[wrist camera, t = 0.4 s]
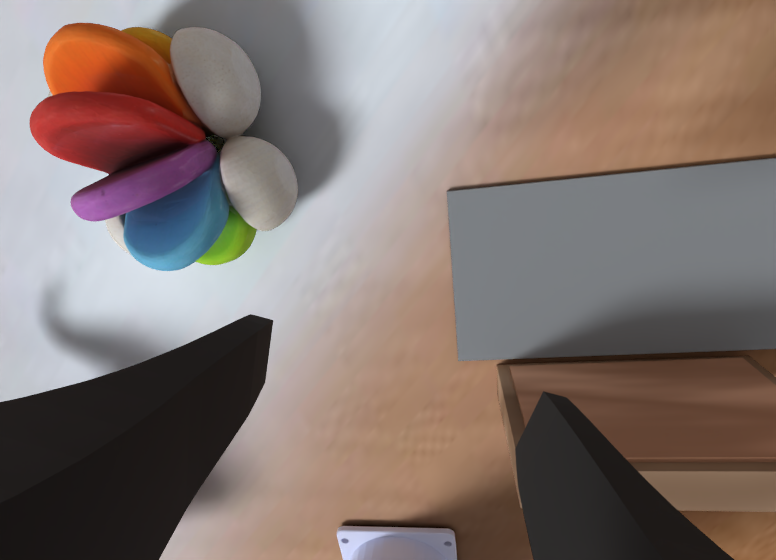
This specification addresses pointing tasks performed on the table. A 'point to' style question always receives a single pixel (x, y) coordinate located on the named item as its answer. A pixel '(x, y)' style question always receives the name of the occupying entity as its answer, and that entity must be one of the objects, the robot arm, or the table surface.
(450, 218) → the felt mat
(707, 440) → the wooden block
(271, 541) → the table surface
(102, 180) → the rainbow petal rattle
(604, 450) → the robot arm
